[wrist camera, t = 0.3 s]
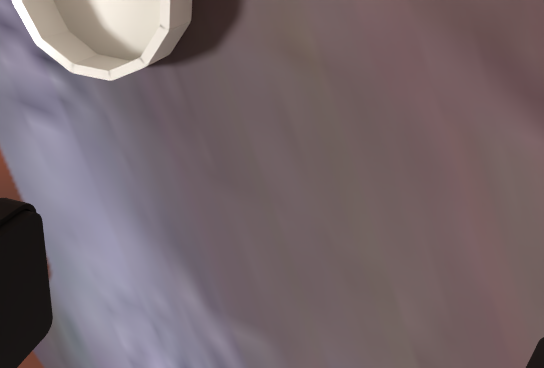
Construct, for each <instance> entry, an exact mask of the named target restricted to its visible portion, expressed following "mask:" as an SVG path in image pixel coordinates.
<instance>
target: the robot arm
mask: <svg viewBox="0 0 544 368" xmlns="http://www.w3.org/2000/svg"><path fill="white" fill-rule="evenodd" d="M52 319H53V316H52V306H51V297H50V288H49V278H48V269H47V260H46V251H45V241H44V232H43V223H42V218H41V216H40V214H38V213H36V209H35V208H34V206H33V205H31V204H29V203H25V202H20V201H16V200H12V199H8V198H0V368H17V367H18V366H19V365H20V364H21V363H22V361H23V360H24V359H25V358H26V357H27V356H28V355H29V354H30V352H31V351H32V350H33V349H34V348H35V347H36V346H37V345H38V344H39V343H40V341H41V340H42V339H43V338H44V337H45V336H46V334H47V333H48V331H49V329H50V327H51V324H52ZM526 368H544V337H543V338H542V339H540V341H539V342H538V344H537V346H536V348H535V350H534V352H533V354H532V356H531V358H530V360H529V362H528V364H527V366H526Z"/></svg>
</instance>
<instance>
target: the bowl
mask: <svg viewBox="0 0 544 368" xmlns="http://www.w3.org/2000/svg"><path fill="white" fill-rule="evenodd" d="M12 1H13V4H14V6H15V7H16V9H17V11H18V13H19V15H20V16H21V18H22V20H23V22H24V24H25V26H26V27H27V29H28V31H29V33H30V35H31V36H32V38H33V40H34V42H35V44H36V43H37V44H36V45H37V46H39V47H40V48H41V49H42V50H44V51H45V52H46V53H47V54H49V55H50V56H51V57H52V58H54V59H55V60H56V61H57V62H59V63H60V64H61V65H62V66H64V67H65V68H66V69H67V70H69V71H70V72H72V73H75V74H80V75H85V76H90V77H95V78H99V79H104V80H109V81H111V80H115V79H117V78H120V77H122V76H124V75H127V74H129V73H132V72H134V71H137V70H139V69H142V68H144V67H146V66H148V65H150V64H152V63H154V62H156V61H158V60H160V59H162V58H164V57H166V56H168V55H169V54H171V52H172V50H173V49H174V47H175V46H176V44H177V43H178V41H179V40H180V38H181V36H182V35H183V33H184V32H185V30H186V29H187V27H188V26H189V24H190V21H191V15H192V0H12Z"/></svg>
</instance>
